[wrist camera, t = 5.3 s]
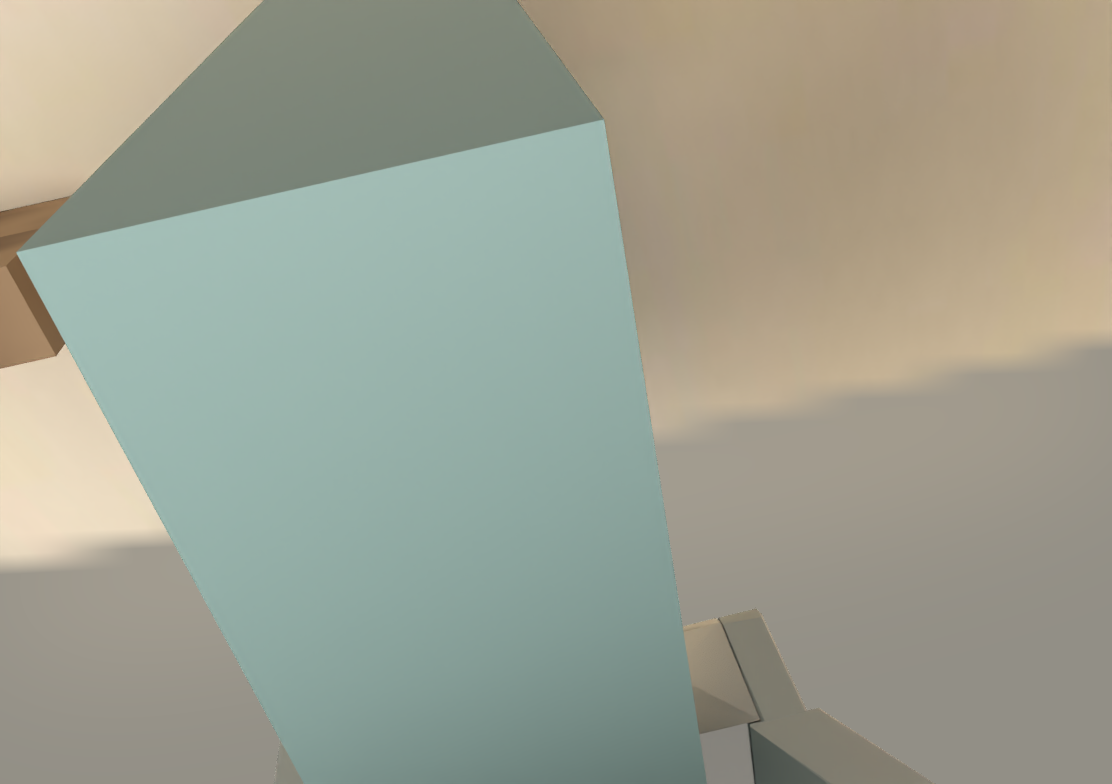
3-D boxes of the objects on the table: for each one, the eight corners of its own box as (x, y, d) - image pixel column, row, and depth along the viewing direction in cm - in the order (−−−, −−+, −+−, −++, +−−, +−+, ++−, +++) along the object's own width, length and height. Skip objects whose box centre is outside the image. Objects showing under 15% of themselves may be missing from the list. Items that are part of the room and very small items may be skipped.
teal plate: (477, -55, 13) (603, 120, 5) (629, 681, 21) (775, 1225, 13) (272, -10, 13) (18, 253, 4) (506, 711, 21) (571, 1277, 13)
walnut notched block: (406, 121, 31) (403, 177, 26) (428, 204, 32) (430, 272, 27) (-115, 237, 31) (-222, 316, 26) (-66, 314, 32) (-158, 404, 27)
